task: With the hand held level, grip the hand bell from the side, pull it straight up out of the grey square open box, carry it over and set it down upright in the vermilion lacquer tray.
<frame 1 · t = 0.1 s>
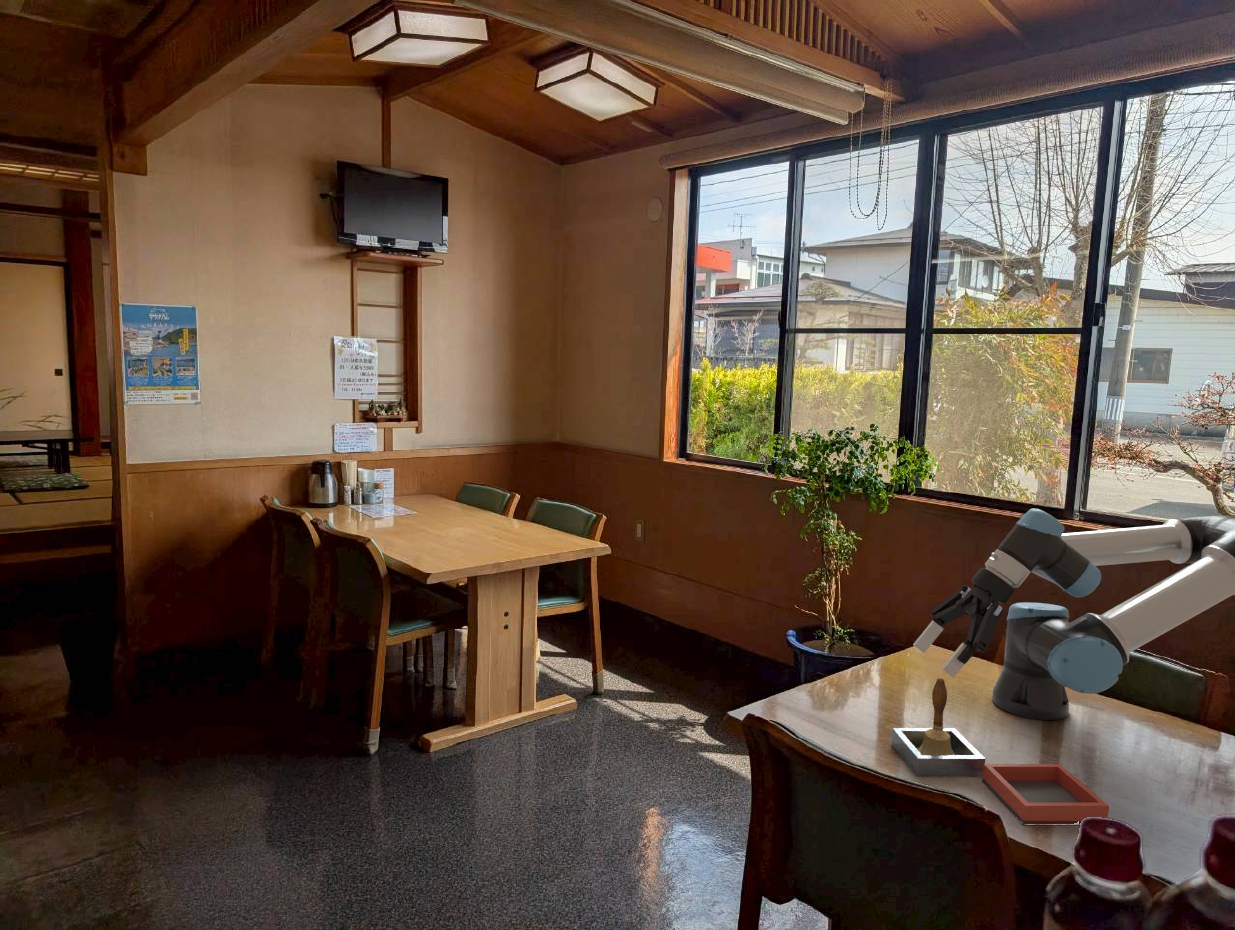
hand: (932, 660, 165), 15 cm above the table, tool tilted 35°, fingers open, 13 cm apart
tray: (1041, 802, 141), on the table
grey square open box: (935, 760, 156), on the table
hand bell: (935, 761, 156), resting in grey square open box
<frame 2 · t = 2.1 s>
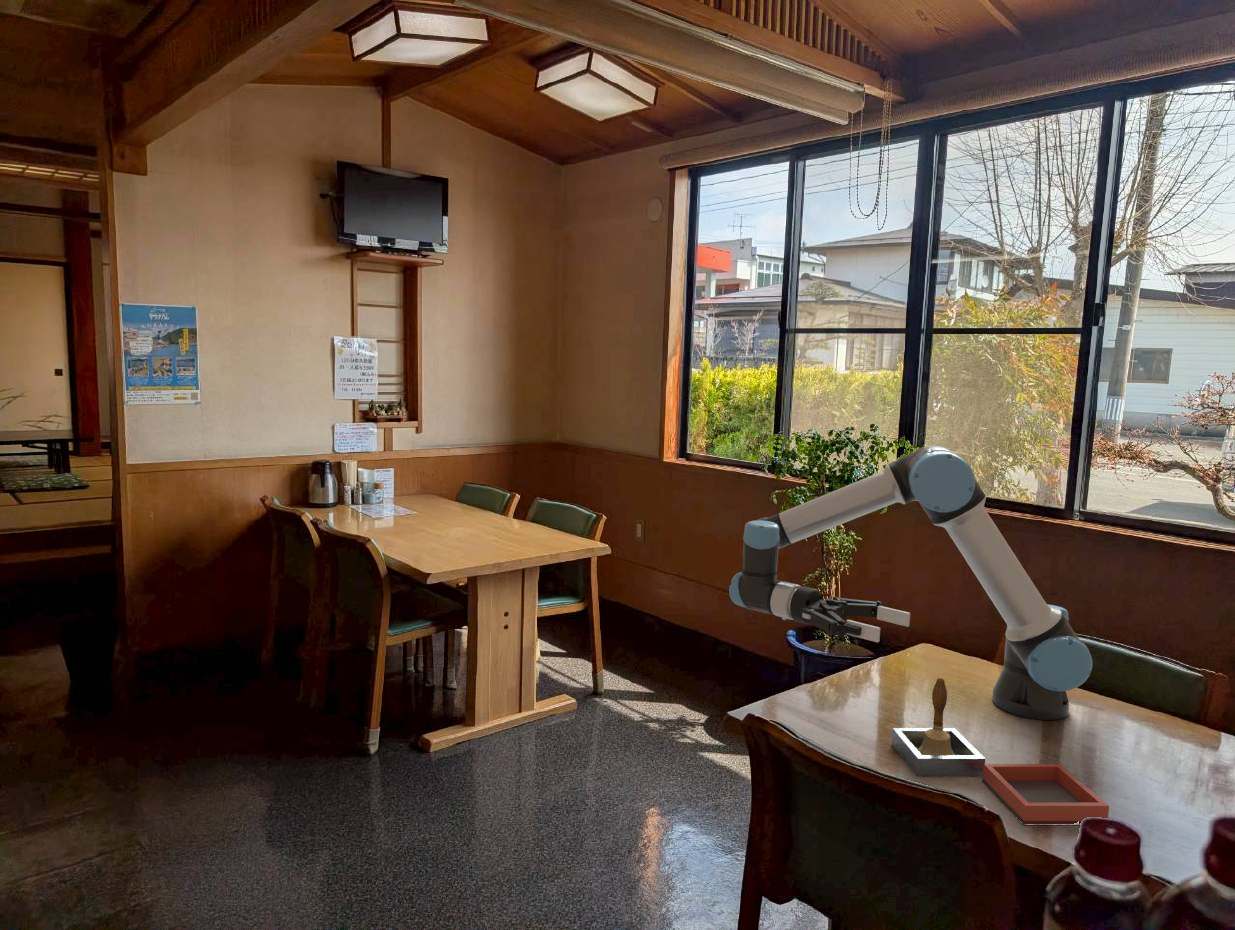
hand: (894, 627, 159), 24 cm above the table, tool horizontal, fingers open, 13 cm apart
nothing on the table moved.
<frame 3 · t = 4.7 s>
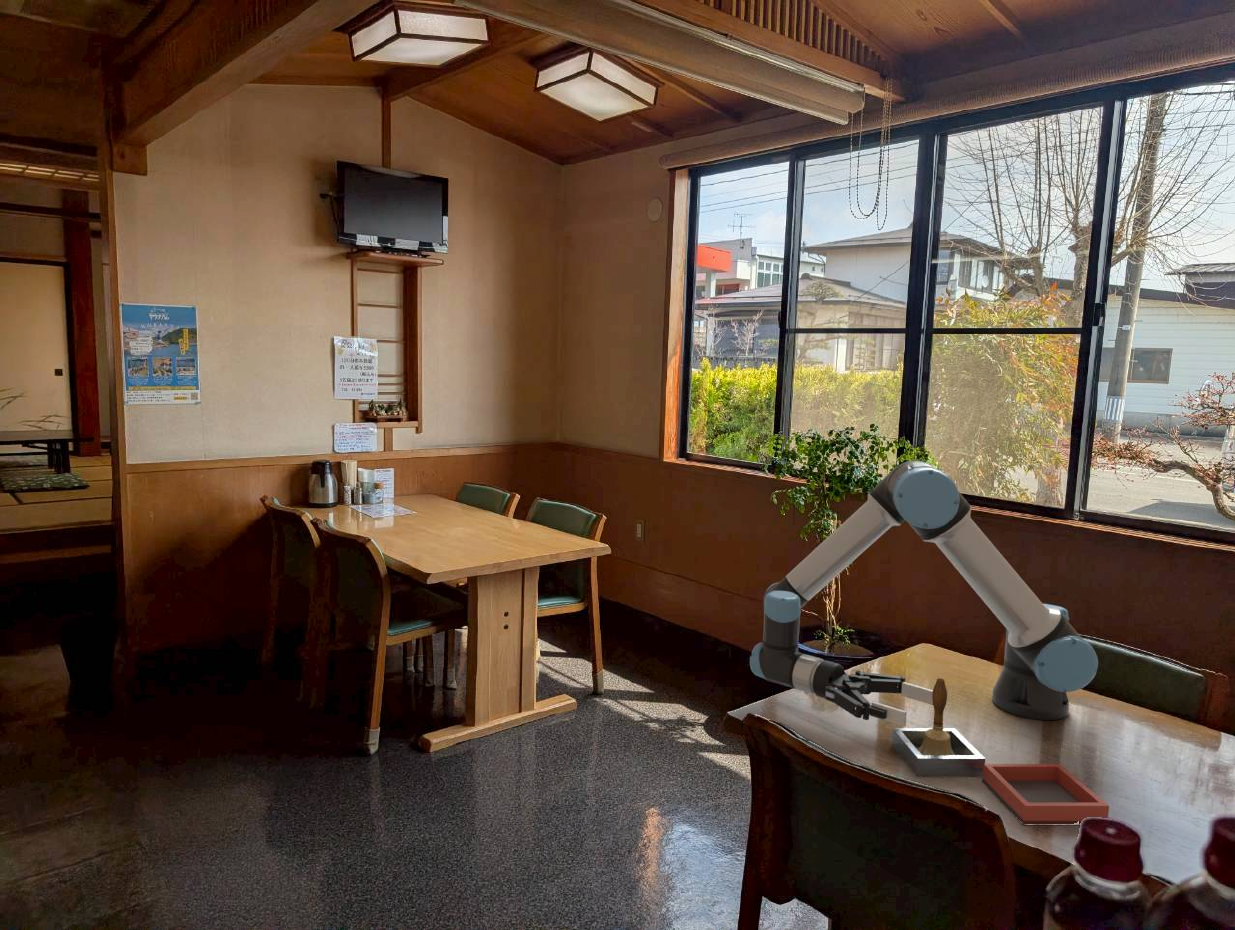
hand: (920, 708, 157), 9 cm above the table, tool horizontal, fingers open, 13 cm apart
nothing on the table moved.
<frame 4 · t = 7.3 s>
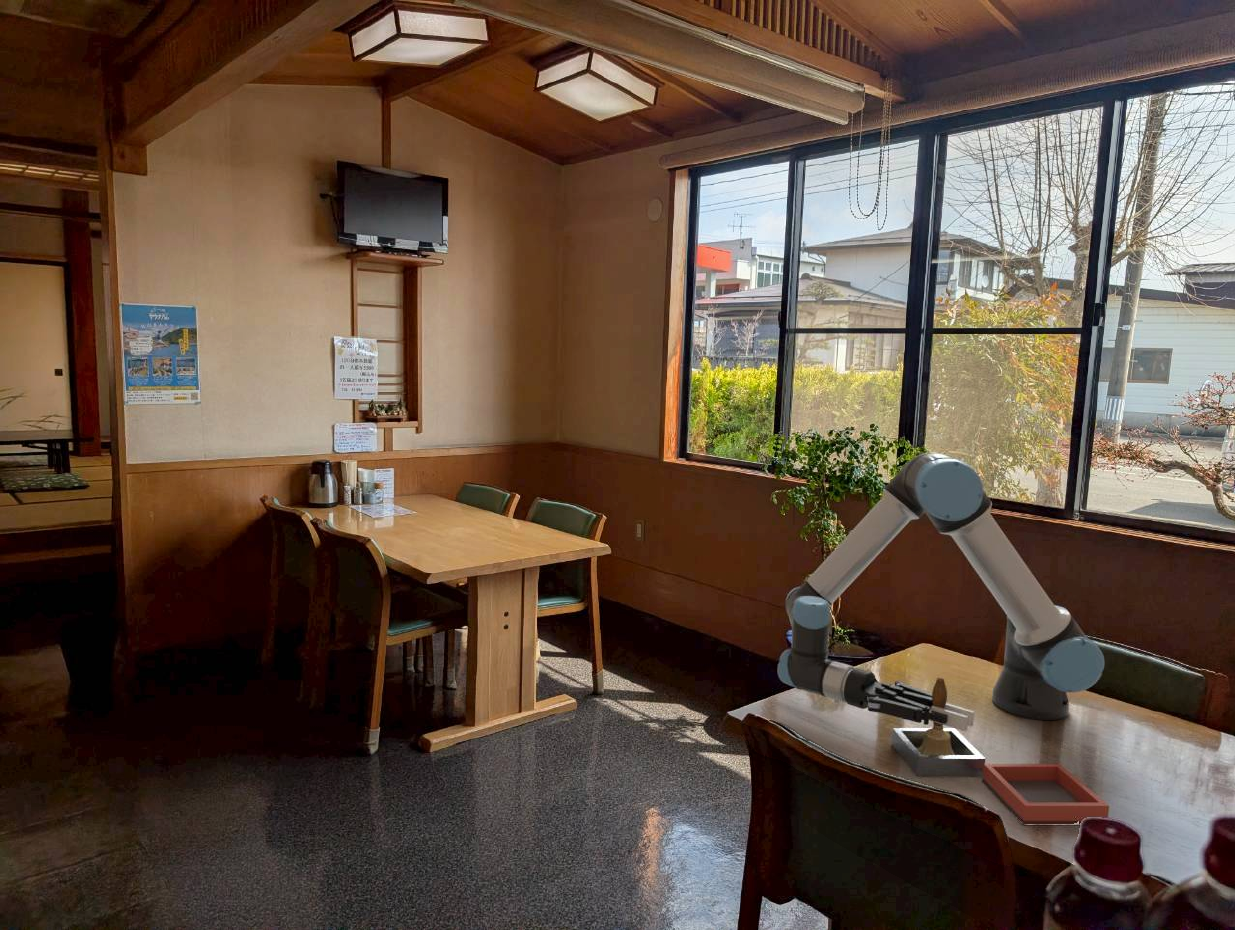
hand: (969, 721, 151), 10 cm above the table, tool horizontal, fingers closed on hand bell, 2 cm apart
hand bell: (935, 761, 156), resting in grey square open box, touching gripper
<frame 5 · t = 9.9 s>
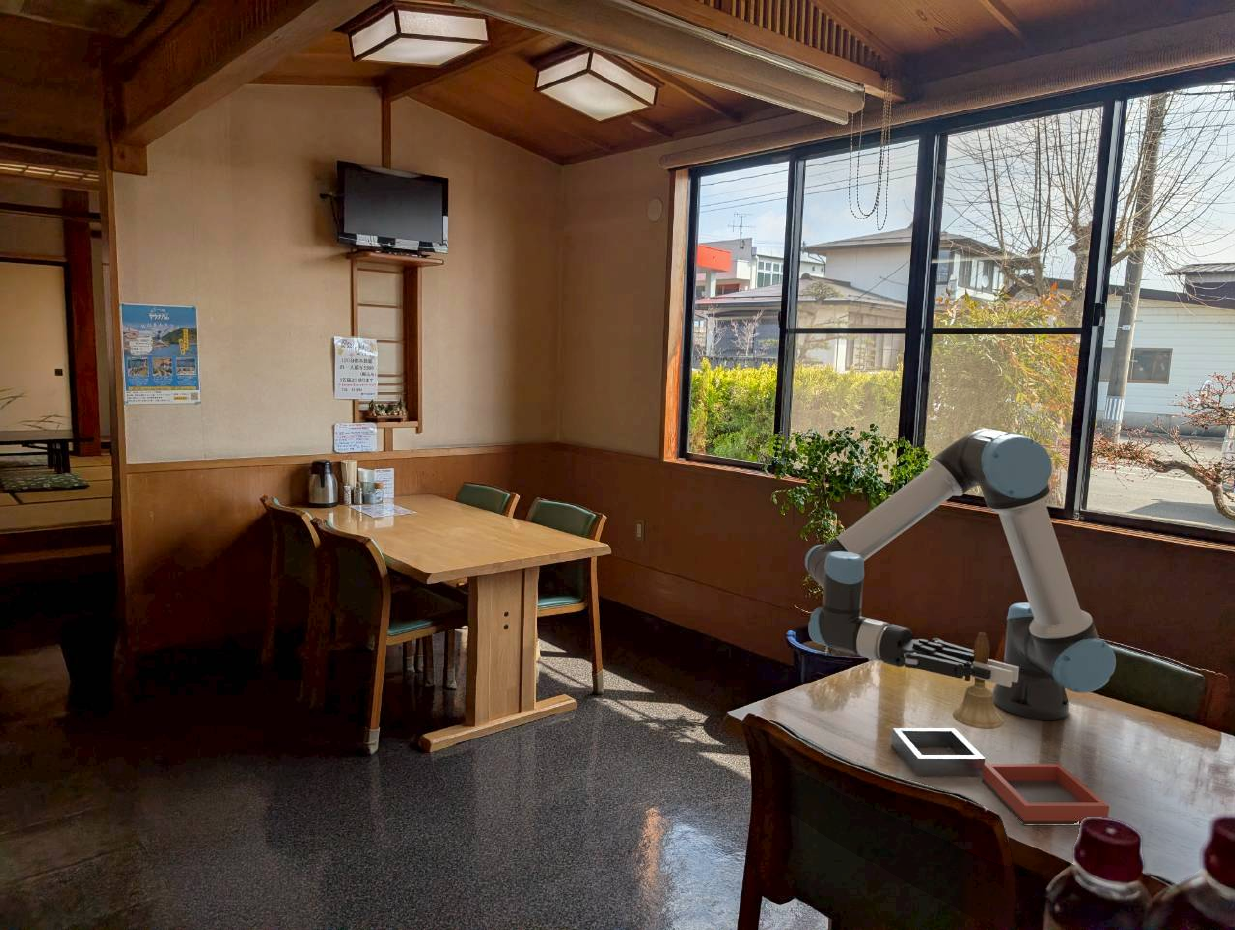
hand: (1014, 676, 143), 21 cm above the table, tool horizontal, fingers closed on hand bell, 2 cm apart
hand bell: (977, 720, 148), point 11 cm above the table, touching gripper
when the fingers open (12 cm above the table, at t = 12.8 s): hand bell drops 1 cm, resting on tray.
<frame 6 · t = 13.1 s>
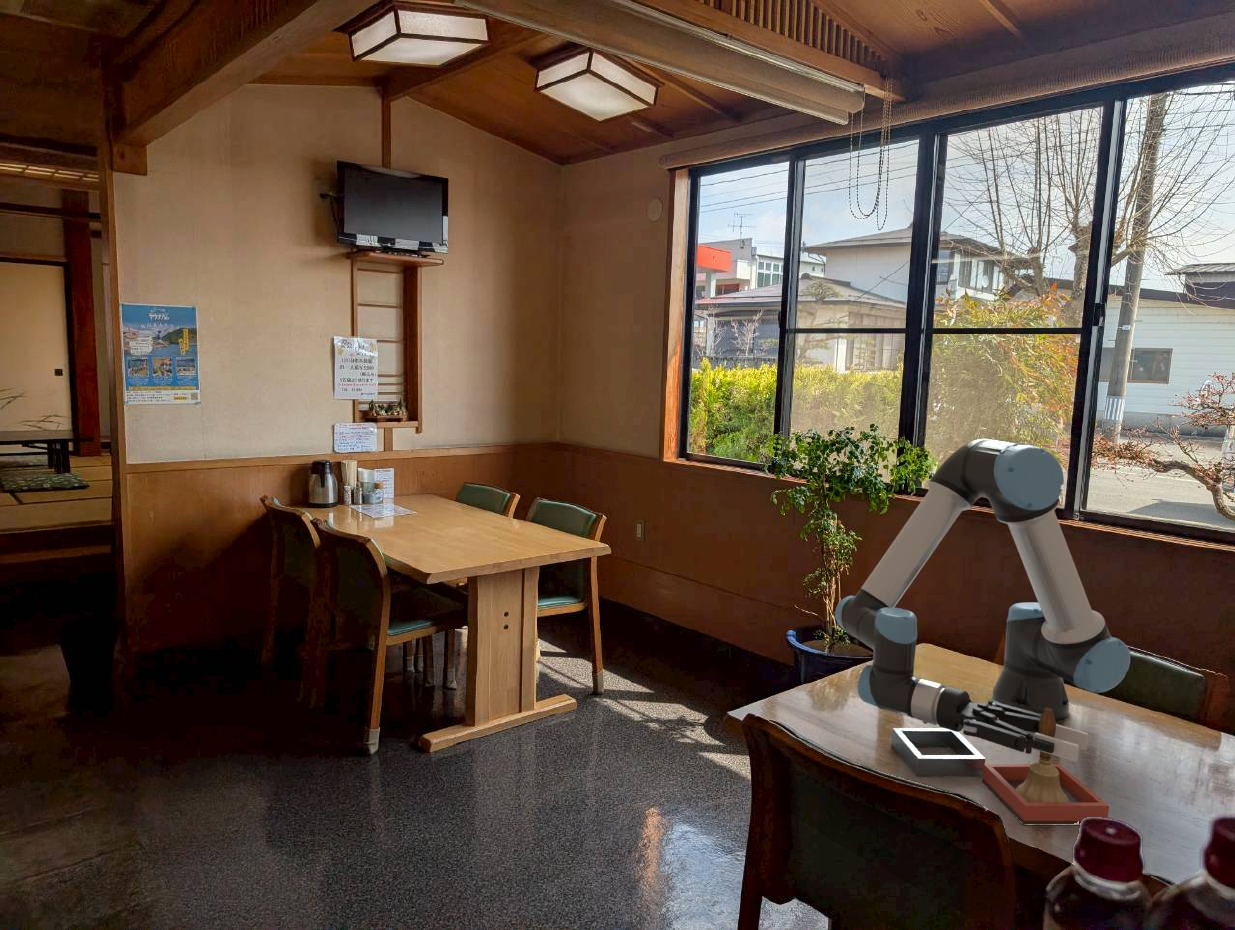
hand: (1082, 747, 137), 12 cm above the table, tool horizontal, fingers open, 5 cm apart
hand bell: (1041, 799, 141), point 1 cm above the table, touching tray
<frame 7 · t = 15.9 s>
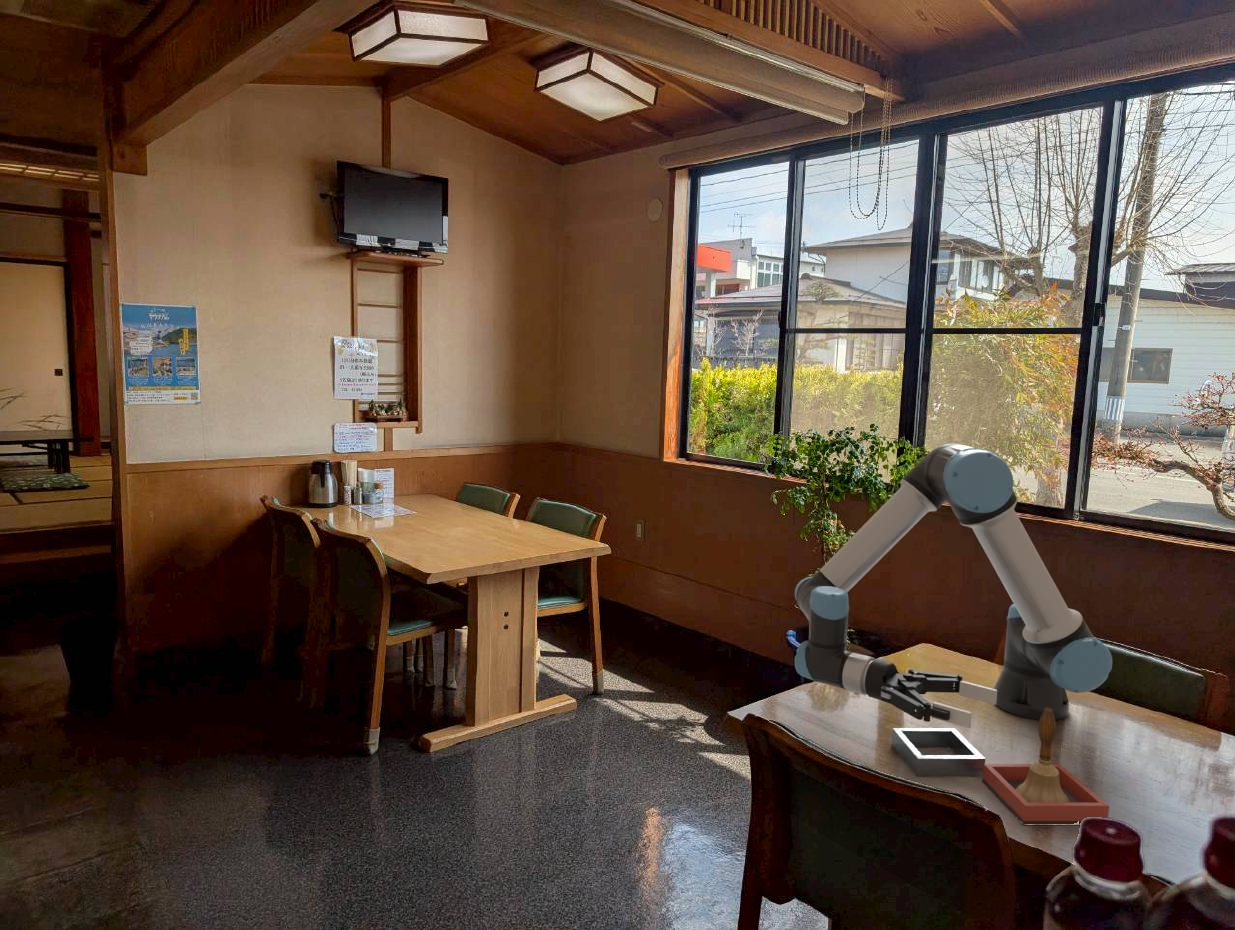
hand: (983, 708, 148), 13 cm above the table, tool horizontal, fingers open, 13 cm apart
nothing on the table moved.
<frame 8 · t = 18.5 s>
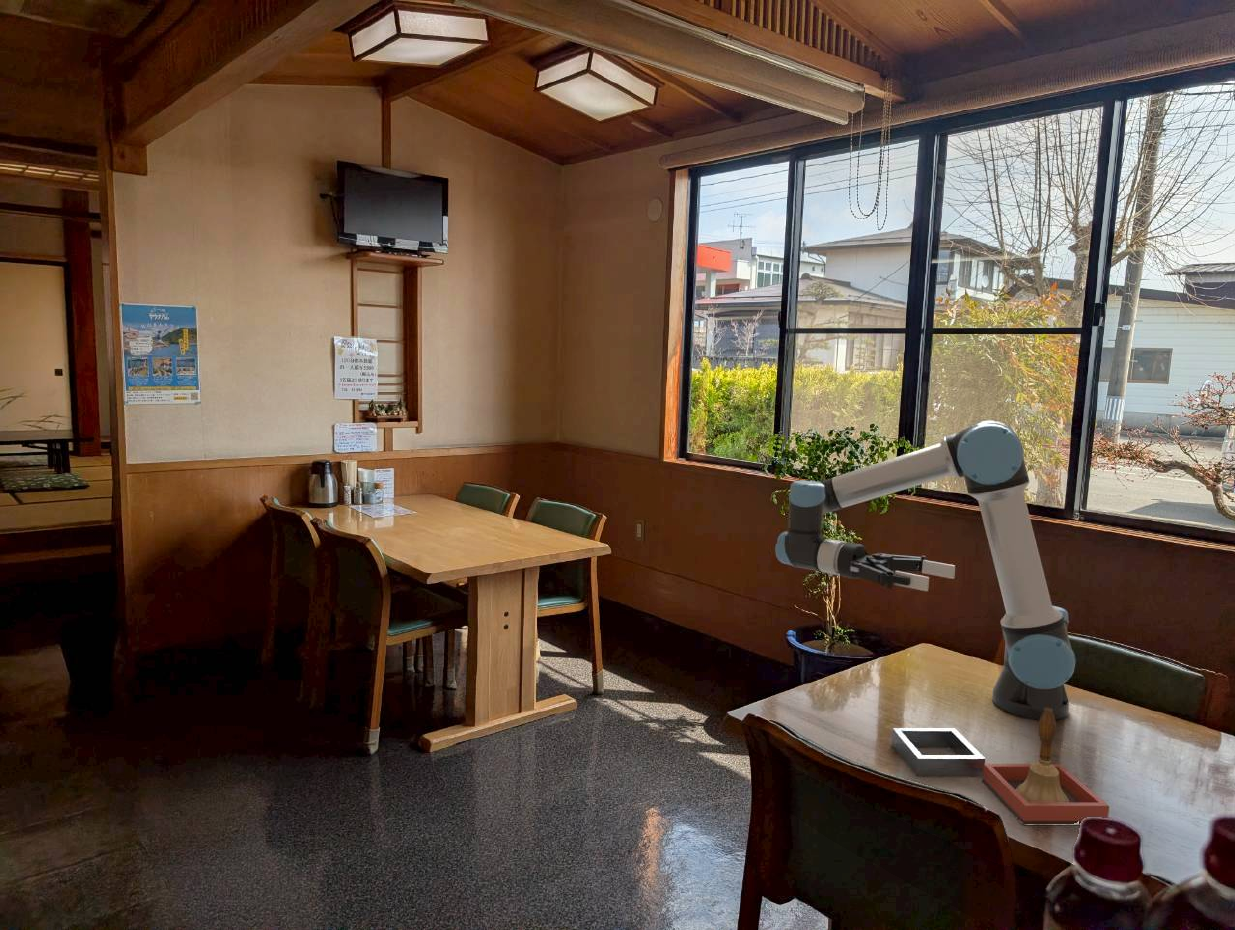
hand: (941, 578, 165), 32 cm above the table, tool horizontal, fingers open, 13 cm apart
nothing on the table moved.
at the end: hand bell inside the target area on the tray (0.1 cm from its centre), point 0.6 cm above the tray's base; hand bell tilted 0°; the gripper is holding nothing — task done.
